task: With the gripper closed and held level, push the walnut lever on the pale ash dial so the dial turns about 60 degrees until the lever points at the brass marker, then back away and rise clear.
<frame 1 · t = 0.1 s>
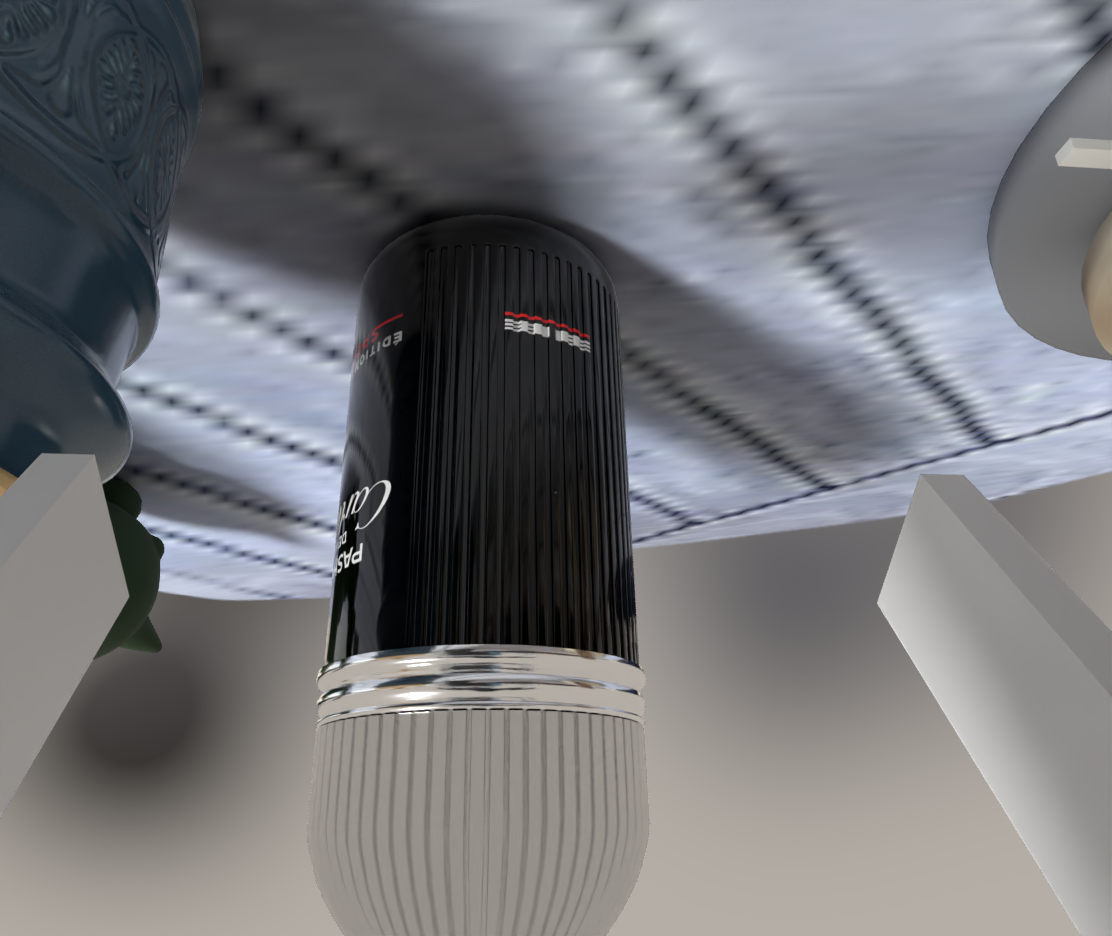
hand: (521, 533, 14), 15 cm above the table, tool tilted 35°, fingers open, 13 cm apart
toy figurine: (10, 432, 44), on the table
black chrome cylinder: (490, 281, 33), on the table
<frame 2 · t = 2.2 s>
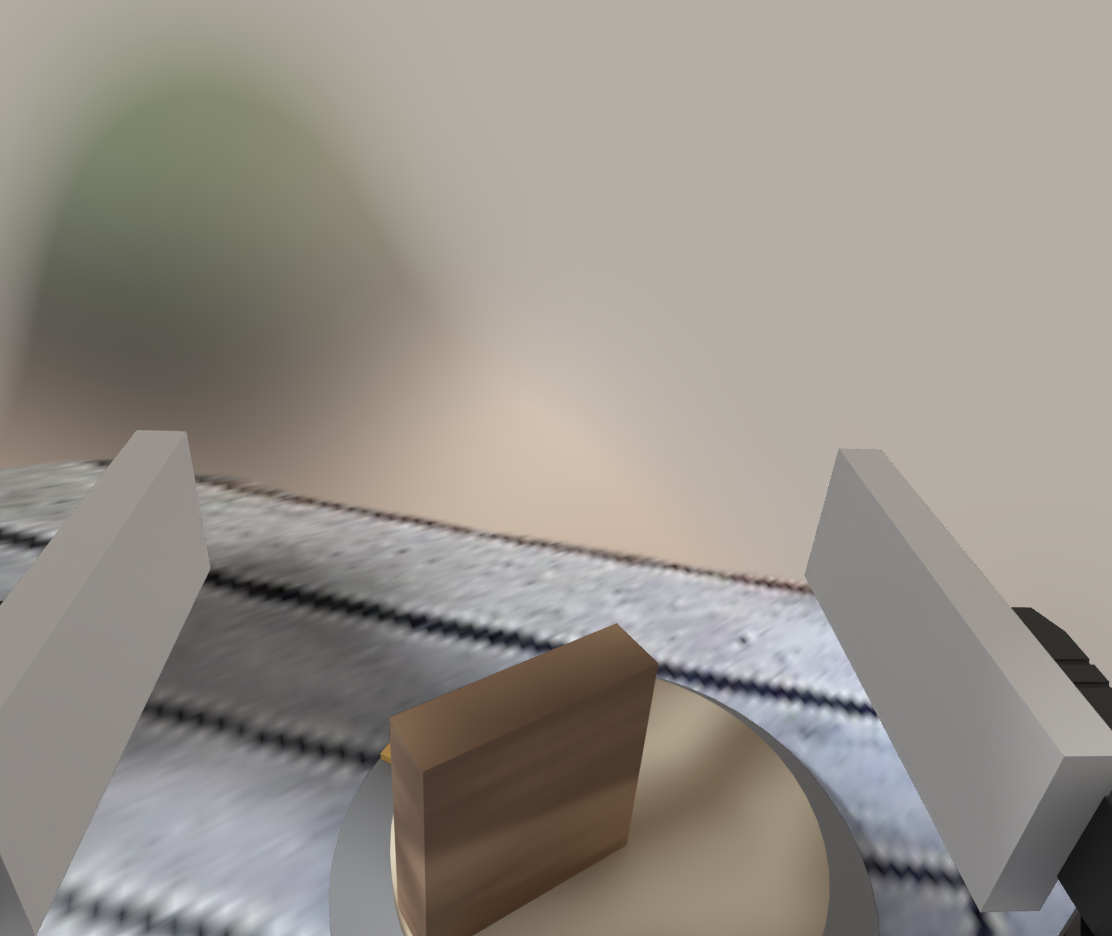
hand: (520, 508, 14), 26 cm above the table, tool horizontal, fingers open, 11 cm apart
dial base: (600, 877, 37), on the table
dial: (619, 753, 33), point 8 cm above the table, hinge at 0.0°
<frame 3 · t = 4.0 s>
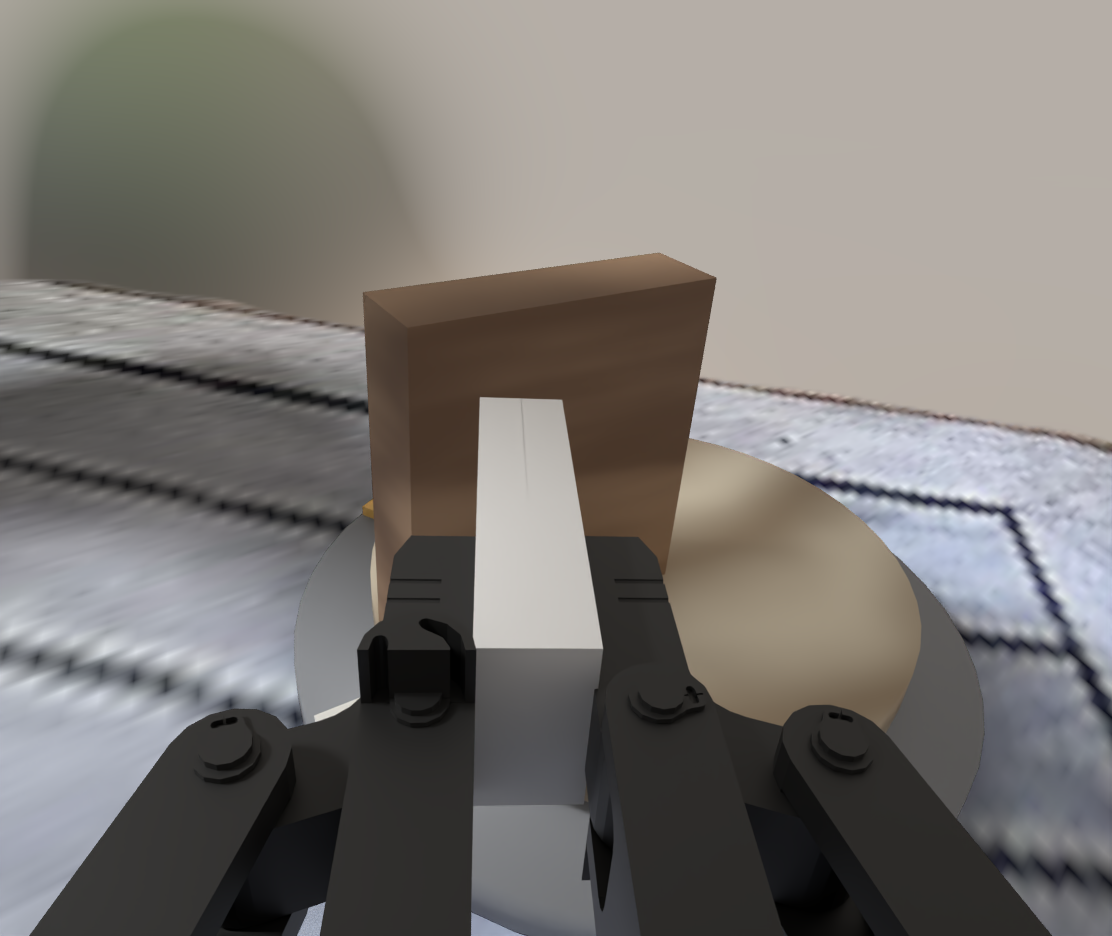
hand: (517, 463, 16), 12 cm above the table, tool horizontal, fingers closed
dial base: (629, 637, 30), on the table
dial: (659, 445, 26), point 8 cm above the table, hinge at 0.0°
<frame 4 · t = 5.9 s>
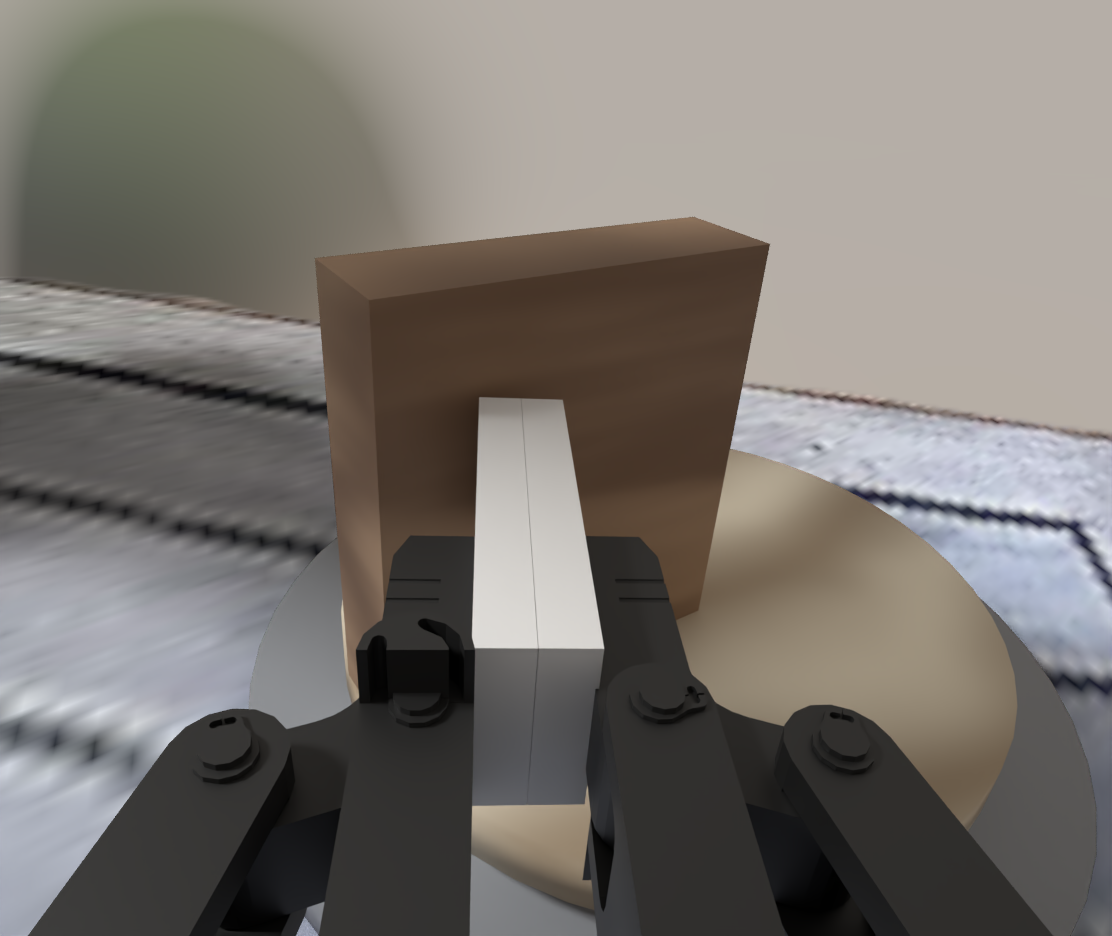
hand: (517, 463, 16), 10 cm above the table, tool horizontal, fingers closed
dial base: (653, 683, 25), on the table
dial: (691, 455, 21), point 8 cm above the table, hinge at -0.2°, touching gripper
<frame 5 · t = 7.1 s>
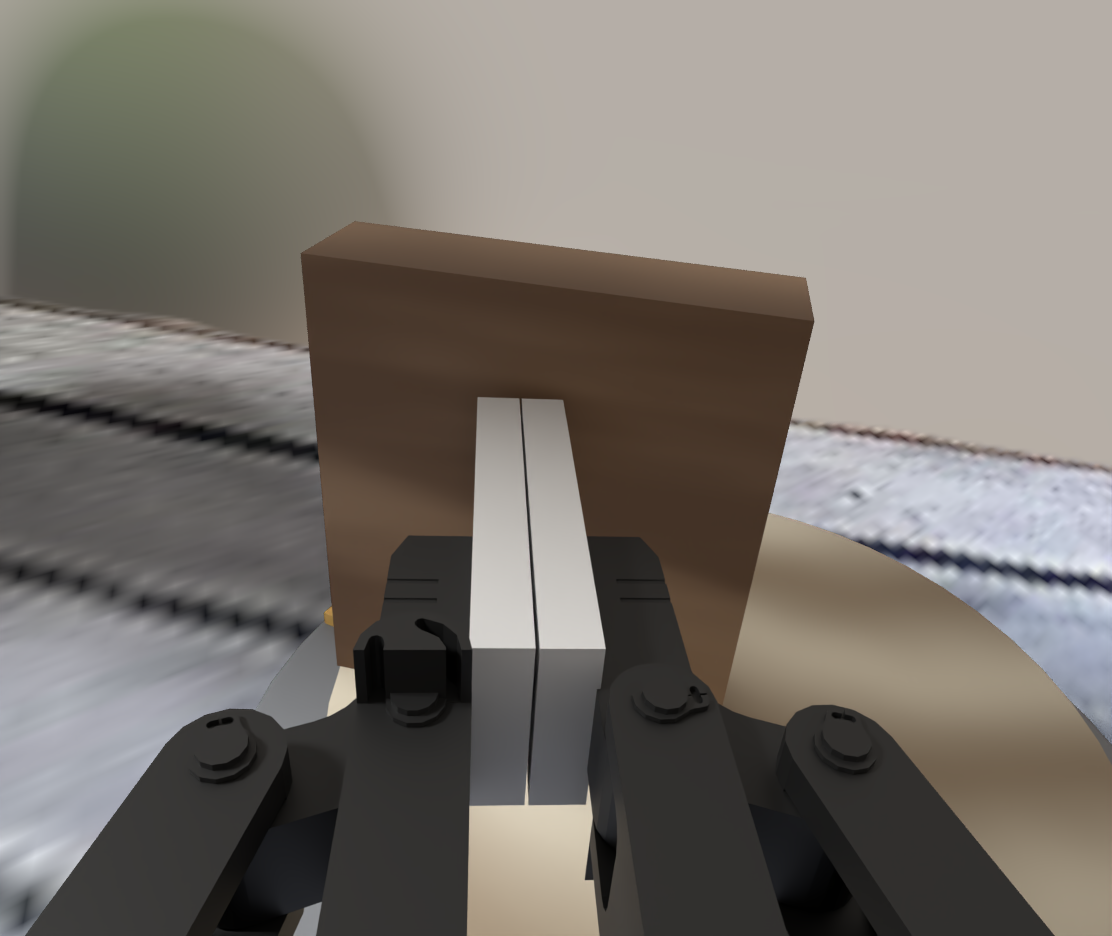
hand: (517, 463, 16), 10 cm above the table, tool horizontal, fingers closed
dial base: (691, 805, 22), on the table
dial: (749, 559, 18), point 8 cm above the table, hinge at -45.6°, touching gripper
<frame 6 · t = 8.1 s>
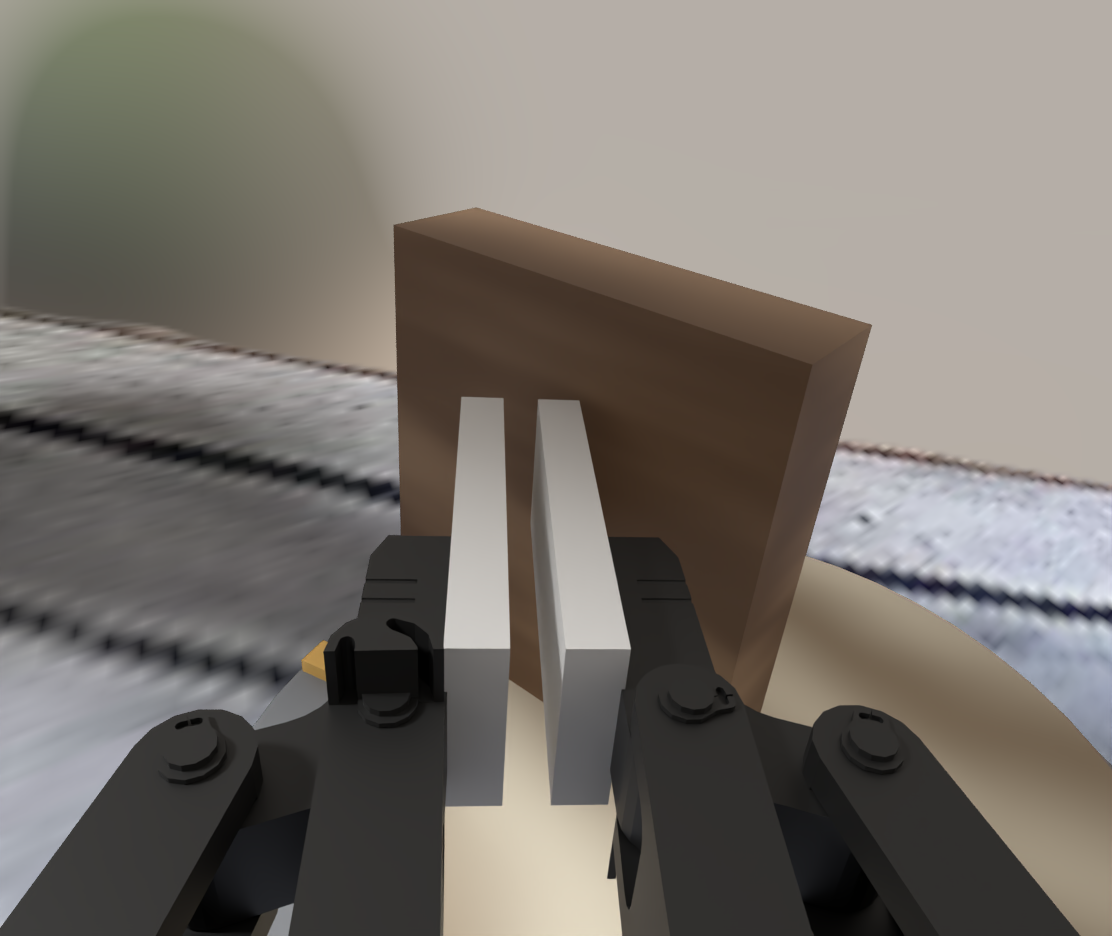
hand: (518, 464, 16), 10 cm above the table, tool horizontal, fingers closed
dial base: (699, 875, 20), on the table
dial: (767, 623, 16), point 8 cm above the table, hinge at -73.4°, touching gripper
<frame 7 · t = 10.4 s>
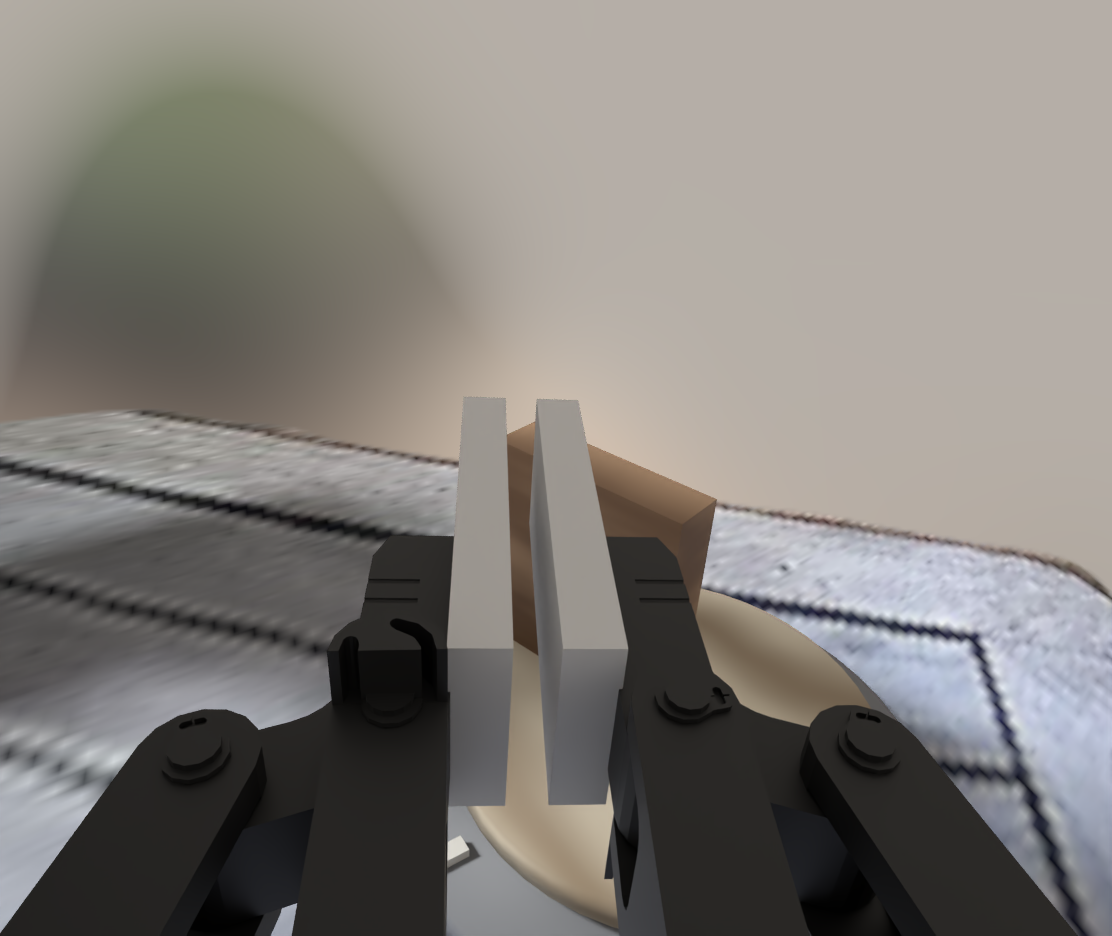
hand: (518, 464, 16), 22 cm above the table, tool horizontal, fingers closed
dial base: (656, 771, 37), on the table
dial: (679, 633, 33), point 8 cm above the table, hinge at -73.4°
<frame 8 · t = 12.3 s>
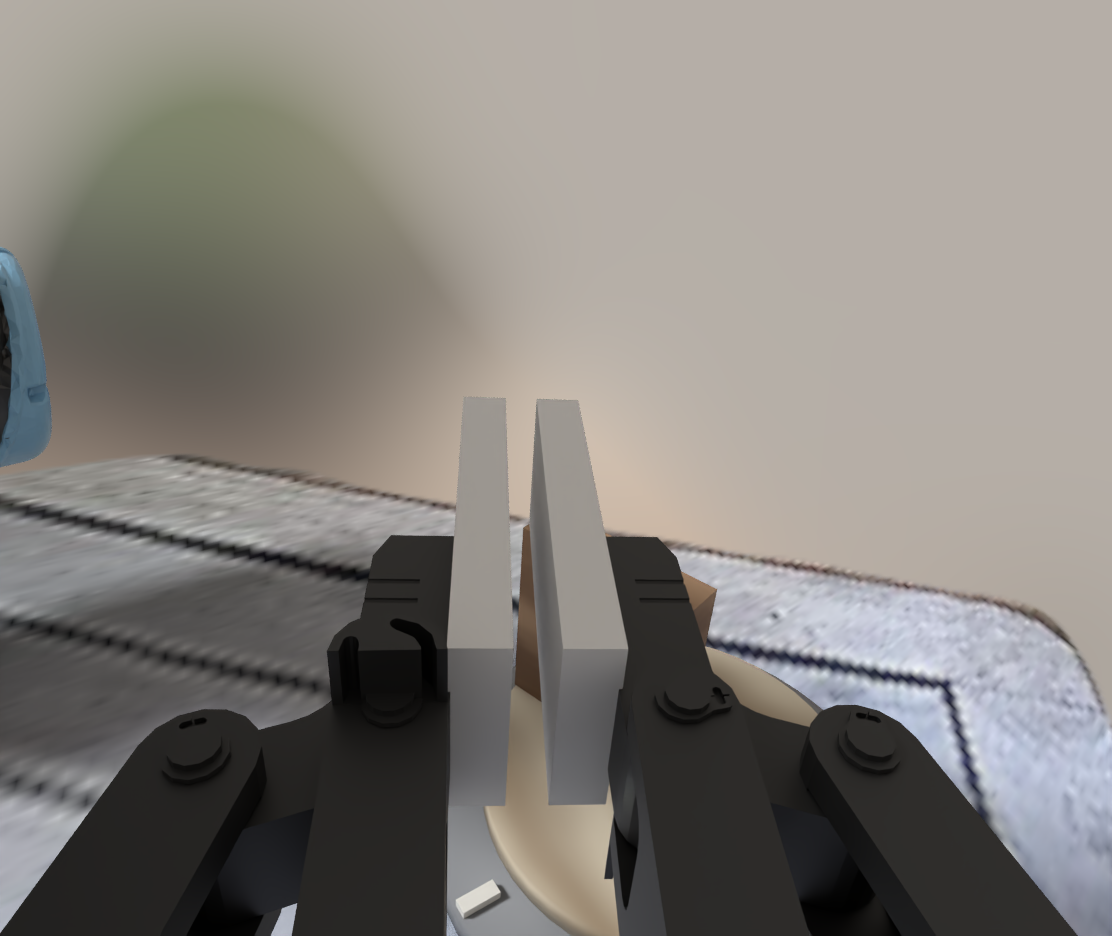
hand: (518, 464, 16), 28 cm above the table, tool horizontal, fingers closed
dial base: (660, 815, 42), on the table
dial: (683, 701, 38), point 8 cm above the table, hinge at -73.4°
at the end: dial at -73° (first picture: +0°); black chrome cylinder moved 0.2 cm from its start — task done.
